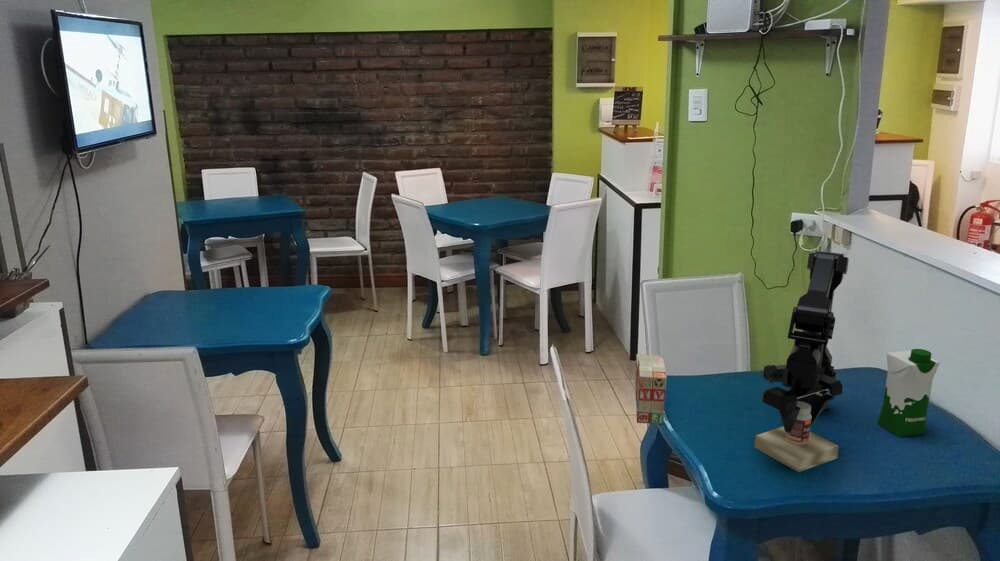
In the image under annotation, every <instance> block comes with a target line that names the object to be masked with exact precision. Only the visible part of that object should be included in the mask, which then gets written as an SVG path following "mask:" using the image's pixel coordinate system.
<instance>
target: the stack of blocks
mask: <svg viewBox="0 0 1000 561" xmlns="http://www.w3.org/2000/svg"><path fill="white" fill-rule="evenodd" d="M667 376H668V375H667V371H666V365H665V361H664V358H663V357H661V356H660V355H656V354H637V353H636V354H635V385H634V390H635V392H634V393H635V403H636V404H635V405H636V407H635V408H636V423H637V424H648V425H649V424H654V425H664V419H665V401H666V393H667V392H666V391H667V381H668V378H667Z"/></svg>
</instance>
